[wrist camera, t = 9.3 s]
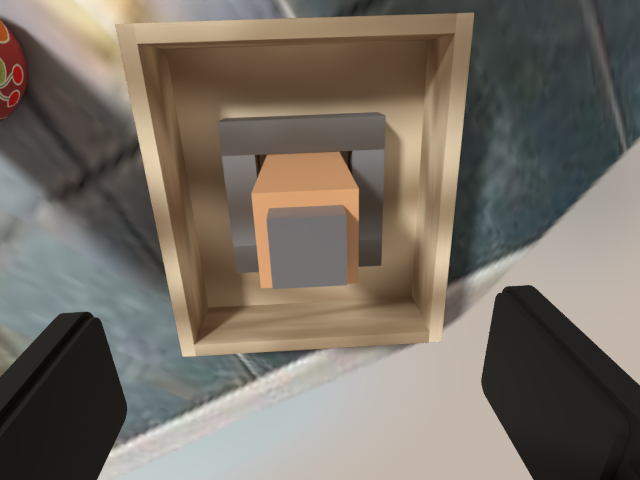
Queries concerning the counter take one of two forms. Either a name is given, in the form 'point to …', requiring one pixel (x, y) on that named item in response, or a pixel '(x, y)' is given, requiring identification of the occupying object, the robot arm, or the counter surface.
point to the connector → (306, 221)
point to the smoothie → (11, 72)
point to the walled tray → (296, 84)
